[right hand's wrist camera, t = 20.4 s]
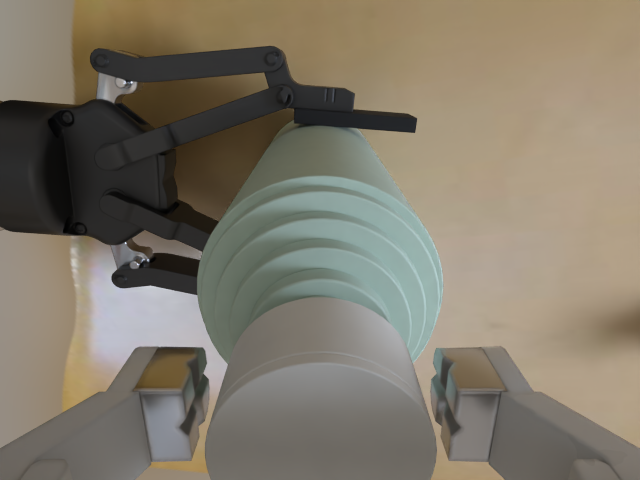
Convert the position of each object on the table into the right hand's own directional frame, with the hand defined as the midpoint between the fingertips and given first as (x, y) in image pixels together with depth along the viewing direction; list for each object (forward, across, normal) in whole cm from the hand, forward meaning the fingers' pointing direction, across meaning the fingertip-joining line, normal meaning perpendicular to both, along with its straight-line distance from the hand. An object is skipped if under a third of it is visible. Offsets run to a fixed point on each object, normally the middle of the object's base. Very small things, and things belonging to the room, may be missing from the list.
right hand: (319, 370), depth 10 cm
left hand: (+17, -5, 0) cm, 18 cm away
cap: (-2, 0, 0) cm, 2 cm away
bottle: (+23, 0, 0) cm, 23 cm away
